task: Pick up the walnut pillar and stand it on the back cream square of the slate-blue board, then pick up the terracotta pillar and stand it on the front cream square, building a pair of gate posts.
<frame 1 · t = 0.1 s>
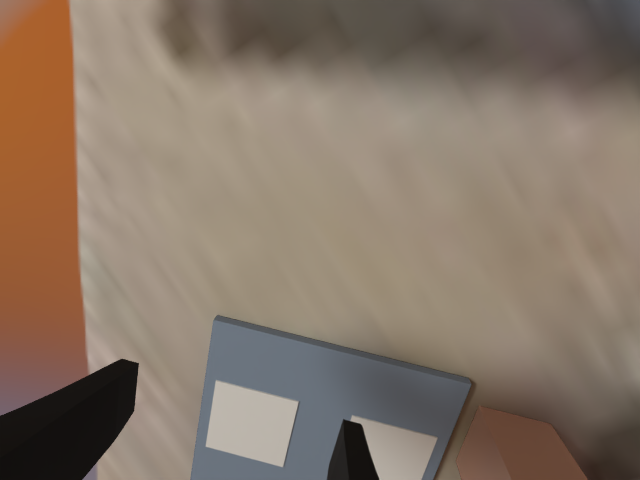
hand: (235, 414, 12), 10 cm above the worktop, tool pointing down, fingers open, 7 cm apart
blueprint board: (317, 434, 24), on the worktop
terracotta pillar: (501, 442, 23), on the worktop
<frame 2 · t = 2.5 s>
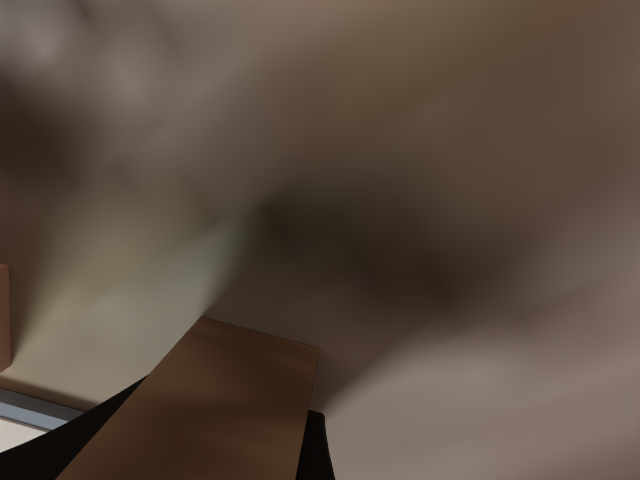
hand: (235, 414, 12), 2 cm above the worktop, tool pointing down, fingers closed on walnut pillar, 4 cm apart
walnut pillar: (249, 383, 14), on the worktop, touching gripper
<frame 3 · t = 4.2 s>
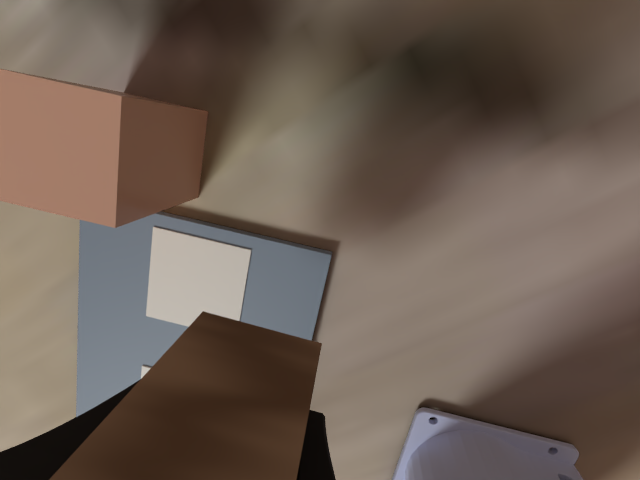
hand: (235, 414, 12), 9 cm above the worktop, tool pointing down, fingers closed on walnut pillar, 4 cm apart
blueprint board: (193, 346, 22), on the worktop
terracotta pillar: (162, 146, 19), on the worktop
walnut pillar: (250, 378, 14), point 7 cm above the worktop, touching gripper
when the fingers open (3 cm above the worktop, at t = 6.3 s): walnut pillar stays where it is, resting on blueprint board.
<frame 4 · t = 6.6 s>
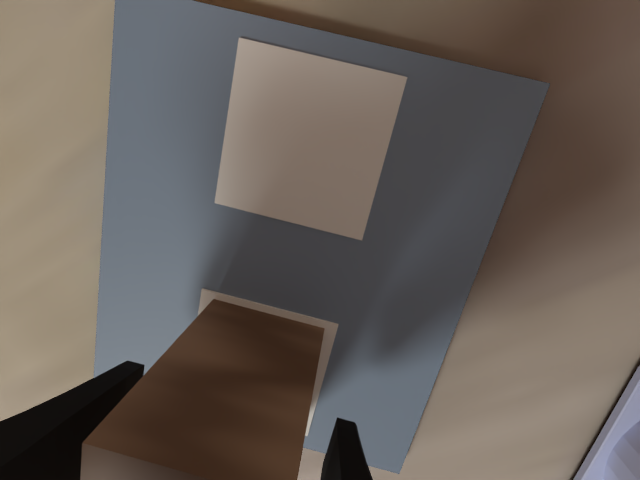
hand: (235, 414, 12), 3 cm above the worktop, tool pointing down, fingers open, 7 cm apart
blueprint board: (282, 259, 14), on the worktop
walnut pillar: (258, 361, 15), point 1 cm above the worktop, touching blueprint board
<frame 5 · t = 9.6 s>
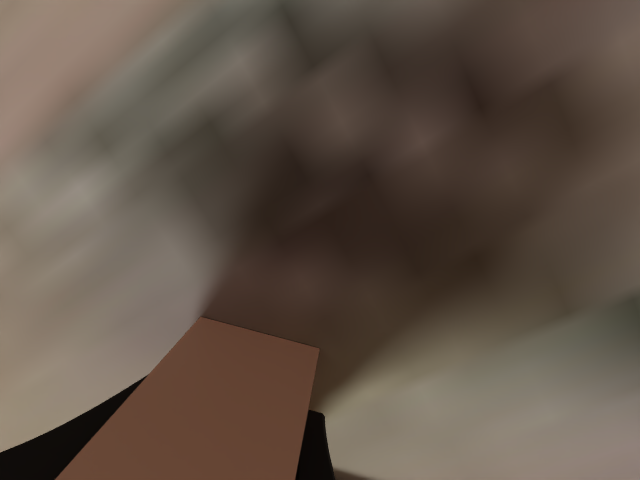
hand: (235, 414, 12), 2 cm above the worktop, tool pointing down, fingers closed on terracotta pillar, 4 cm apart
terracotta pillar: (249, 383, 14), on the worktop, touching gripper
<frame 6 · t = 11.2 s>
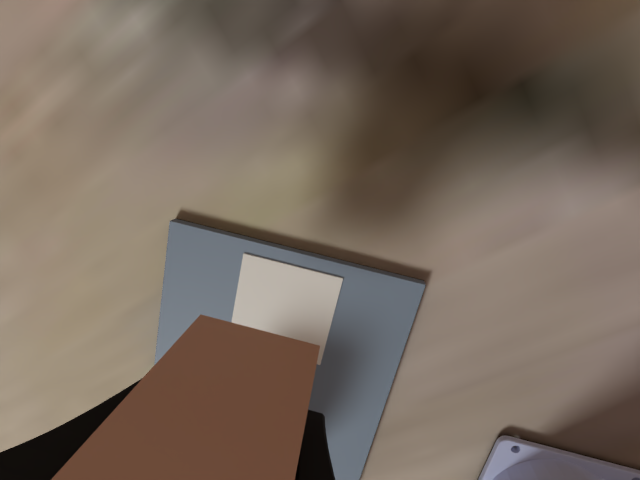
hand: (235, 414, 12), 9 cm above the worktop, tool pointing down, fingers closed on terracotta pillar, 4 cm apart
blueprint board: (271, 370, 22), on the worktop
terracotta pillar: (249, 380, 14), point 7 cm above the worktop, touching gripper
when the fingers open (3 cm above the worktop, at t = 12.7 s): terracotta pillar drops 1 cm, resting on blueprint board.
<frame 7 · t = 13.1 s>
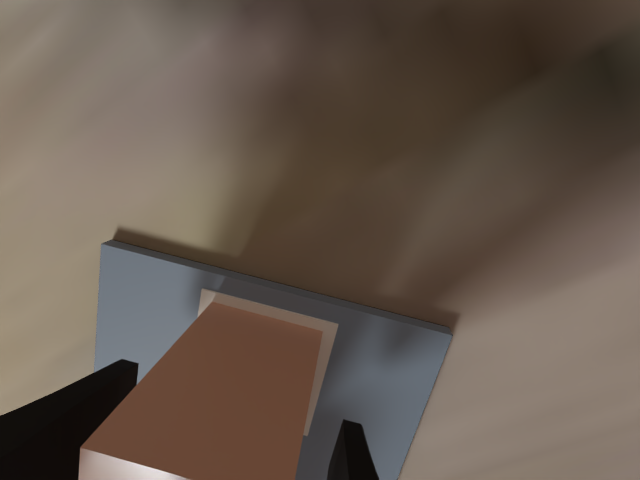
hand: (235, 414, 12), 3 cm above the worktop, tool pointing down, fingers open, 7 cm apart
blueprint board: (244, 437, 17), on the worktop
terracotta pillar: (256, 364, 15), point 1 cm above the worktop, touching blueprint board
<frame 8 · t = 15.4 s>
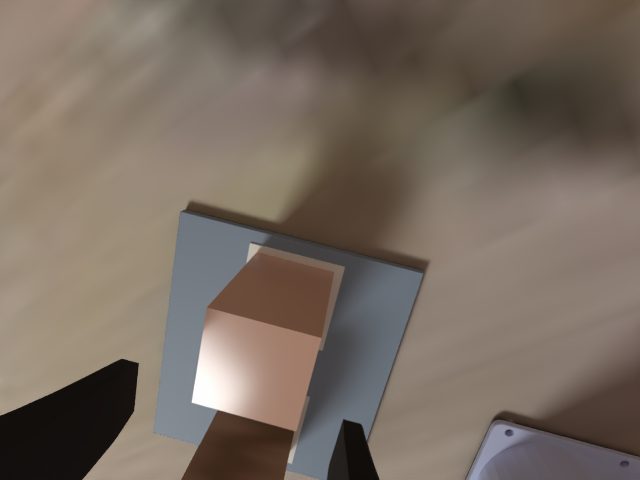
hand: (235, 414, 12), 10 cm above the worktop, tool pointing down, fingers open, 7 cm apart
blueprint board: (275, 356, 23), on the worktop
terracotta pillar: (287, 297, 21), point 1 cm above the worktop, touching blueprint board
walnut pillar: (260, 418, 24), point 1 cm above the worktop, touching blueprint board
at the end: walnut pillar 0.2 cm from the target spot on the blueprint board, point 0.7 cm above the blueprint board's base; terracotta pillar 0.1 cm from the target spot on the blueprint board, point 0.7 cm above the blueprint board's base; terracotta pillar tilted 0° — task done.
